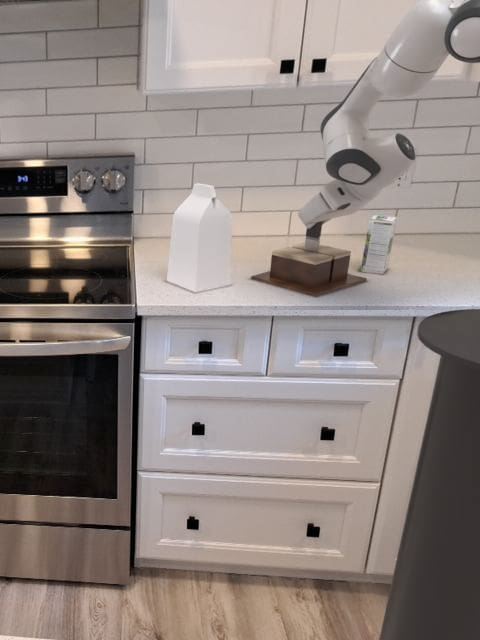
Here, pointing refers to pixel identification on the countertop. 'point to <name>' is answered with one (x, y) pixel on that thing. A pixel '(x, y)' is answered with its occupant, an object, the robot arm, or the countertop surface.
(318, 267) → the brown square slotted block
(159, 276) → the countertop surface
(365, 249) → the syrup box
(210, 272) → the milk
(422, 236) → the countertop surface
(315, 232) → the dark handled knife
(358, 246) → the countertop surface
